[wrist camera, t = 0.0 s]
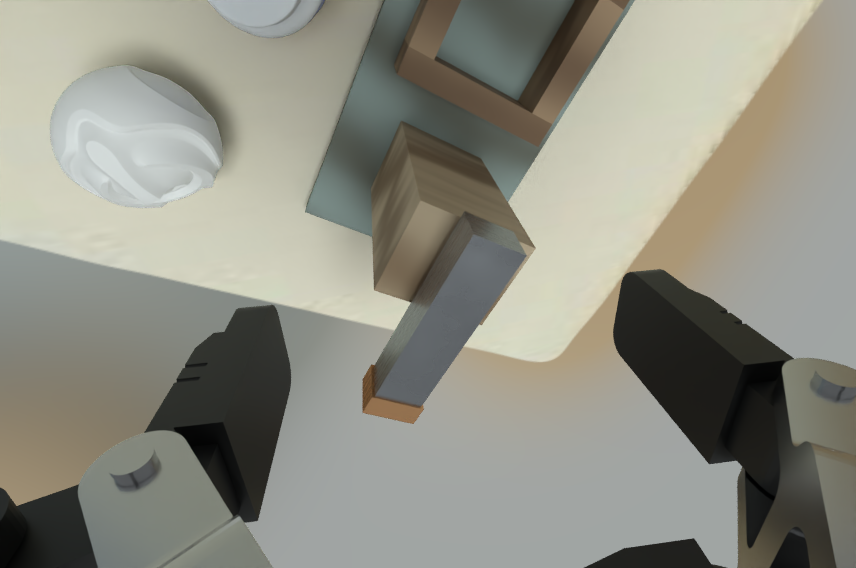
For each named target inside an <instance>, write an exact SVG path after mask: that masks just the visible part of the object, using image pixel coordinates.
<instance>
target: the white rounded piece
mask: <svg viewBox="0 0 856 568" xmlns="http://www.w3.org/2000/svg"><path fill="white" fill-rule="evenodd" d="M50 138H51V145H52V149H53V152H54V155H55V157H56V159H57V161H58V163H59V165H60V167H61V169H62V170H63V172H64V173H65V174H66V175H67V176H68V177H69V178H70V179H72V180H73V181H74V182H75V183H77V184H78V185H80V186H81V187H83V188H84V189H86V190H87V191H89V192H91V193H93V194H95V195H96V196H99V197H101V198H103V199H105V200H108V201H109V202H112V203H114V204H117V205H121V206H126V207H135V208H155V207H163V206H164V205H165V204H167V203H168V202H171V201H175V200H179V199H182V198H185V197H187V196H189V195H192V194H194V193H195V192H197V191H199V190H200V189H202V188H209V187H212V186H213V184H214V181H215V178H216V175H217V172H218V170H219V169H220V168H221V167H222V166H223V147H222V142H221V137H220V134H219V130H218V127H217V125H216V122H215V120H214V118H213V117H212V116H211V115H210V114H209V113H208V112H207V111H206V110H205V109H204V108H203V106H202V105H201V104H200V103H199V102H198V101H197V100H196V99H195V98H194V97H193V96H192V95H191V94H190V93H189V92H188V91H186V90H185V89H184V88H182V87H181V86H179V85H178V84H176V83H174V82H173V81H171V80H169V79H167V78H165V77H162V76H160V75H157V74H154V73H151V72H147V71H144V70H142V69H140V68H137V67H134V66H131V65H119V66H113V67H107V68H103V69H99V70H95V71H92V72H90V73H88V74H85V75H84V76H82V77H80V78H78V79H77V80H76V81H74V82H73V83H72V84H71V85H70V86H69V87H68V88H67V89H66V90H65V91H64V92H63V93H62V95H61V96H60V97H59V99H58V101H57V102H56V104H55V107H54V109H53V112H52V116H51V121H50Z"/></svg>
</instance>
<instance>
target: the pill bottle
mask: <svg viewBox="0 0 856 568" xmlns="http://www.w3.org/2000/svg"><path fill="white" fill-rule="evenodd" d="M325 1H326V0H208V2H209V3H210V4H211V5H212V6H213V7H214V9H215V10H216V11H217V12H218V13H219V14H220V15H221V16H222V17H223V18H224V19H226V20H227V21H228V22H229V23H231V24H232V25H234V26H235V27H237V28H239V29H241V30H243V31H245V32H247V33H250V34H252V35H255V36H259V37H265V38H279V37H284V36H288V35H291V34H293V33H295V32H297V31H299V30H300V29H302V28H303V27H304V26H305V25H307V24H308V23H309V22H310V21H311V19H312V18H313V17H314V16H315V14H316V13H317V12H318V11H319V10H320V9H321V7H322V6H323V4H324V2H325Z"/></svg>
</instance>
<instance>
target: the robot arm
mask: <svg viewBox="0 0 856 568" xmlns="http://www.w3.org/2000/svg"><path fill="white" fill-rule="evenodd" d="M613 337H614V343H615V346H616V349H617V351H618V353H619V355H620V356H621V357H622V358H623V359H624V361H625V362H626V363H627V364H628V366H629V367H630V368H631V369H632V371H633V372H634V373H635V374H636V375H637V377H638V378H639V379H640V380H641V381H642V383H643V384H644V385H645V386H646V388H647V389H648V390H649V391H650V392H651V394H652V395H653V396H654V397H655V399H656V400H657V401H658V402H659V404H660V405H661V406H662V407H663V408H664V409H665V411H666V412H667V413H668V414H669V416H670V417H671V418H672V419H673V421H674V422H675V423H676V424H677V425H678V426H679V428H680V429H681V430H682V432H683V433H684V434H685V435H686V436H687V438H688V439H689V440H690V441H691V443H692V444H693V445H694V446H695V447H696V448H697V450H698V451H699V452H700V453H701V455H702V456H703V457H704V458H705V460H706V461H707V462H708V463H709V464H714V463H722V462H729V461H738V462H739V463H740V464H741V466H742V469H741V472H740V474H739V476H738V481H737V482H738V483H737V484H738V485H737V494H738V567H737V568H856V370H855V369H853V368H850V367H848V366H845V365H841V364H838V363H835V362H831V361H827V360H822V359H814V358H797V359H794V358H792V357H791V356H790V355H788V354H787V353H786V352H784V351H783V350H781V349H780V348H779V347H777V346H776V345H775V344H773V343H772V342H770V341H769V340H768V339H766V338H765V337H763V336H762V335H761V334H759V333H758V332H757V331H755V330H754V329H752V328H751V327H750V326H748V325H747V324H742V321H741V320H740V319H739V318H737V317H736V316H734V315H733V314H732V313H728V312H727V310H726V309H725V308H723V307H722V306H721V305H719V304H718V303H716V302H715V301H714V300H712V299H711V298H709V297H707V296H704V295H702V294H700V293H698V292H695V291H693V290H691V289H689V288H687V287H686V286H685V285H683V284H682V283H680V282H679V281H678V280H677V279H675V278H674V277H672V276H671V275H670V274H668V273H667V272H666V271H664V270H661V269H658V270H647V271H636V272H629V273H627V274H626V275H625V276H624V277H623V280H622V283H621V289H620V294H619V301H618V306H617V312H616V317H615V323H614V329H613ZM290 386H291V369H290V363H289V358H288V354H287V349H286V345H285V341H284V337H283V333H282V328H281V324H280V320H279V316H278V312H277V310H276V308H275V306H273V305H267V306H256V307H246V308H238V309H237V310H236V311H235V313H234V315H233V317H232V319H231V321H230V322H229V324H228V326H227V328H226V330H225V332H219V333H213V334H212V335H211V336H210V337H208V338H207V339H206V340H205V341H204V342H202V343H201V344H200V345H199V346H197V347H196V348H195V349H194V351H193V353H192V354H191V356H190V358H189V359H188V361H187V363H186V364H185V368H183V369H182V371H181V373H180V374H179V376H178V378H177V383H174V384H173V386H172V388H171V389H170V391H169V393H168V394H167V396H166V398H165V399H164V401H163V403H162V404H161V406H160V408H159V409H158V411H157V412H156V414H155V416H154V417H153V419H152V421H151V422H150V424H149V426H148V428H147V429H146V431H145V432H144V433H143V434H140V435H137V436H134V437H131V438H129V439H127V440H125V441H123V442H121V443H119V444H117V445H116V446H114V447H112V448H111V449H109V450H108V451H106V452H105V453H104V454H102V455H101V456H100V457H99V458H98V459H97V460H96V461H95V462H94V463H93V464H92V465H91V466H90V467H89V468H88V469H87V471H86V472H85V474H84V475H83V477H82V479H81V481H80V483H79V485H76V486H73V487H71V488H68V489H65V490H62V491H59V492H56V493H53V494H50V495H48V496H45V497H42V498H39V499H36V500H33V501H30V502H27V503H24V504H21V505H19V506H16V505H15V503H14V502H13V501H12V499H11V498H10V496H9V495H8V494H7V492H6V491H5V490H4V489H2V488H0V568H273V567H272V565H271V564H270V562H269V561H268V559H267V557H266V556H265V554H264V553H263V551H262V550H261V548H260V546H259V545H258V543H257V542H256V540H255V539H254V537H253V535H252V534H251V532H250V531H249V529H248V527H247V526H246V525H245V522H253V521H258V518H259V514H260V510H261V506H262V502H263V498H264V493H265V489H266V485H267V481H268V477H269V473H270V468H271V465H272V461H273V457H274V453H275V449H276V444H277V440H278V436H279V432H280V428H281V424H282V420H283V416H284V412H285V408H286V404H287V400H288V396H289V392H290ZM585 568H726V567H722V566H718V565H712V564H711V563H710V562H709V560H708V559H707V557H706V556H705V554H704V553H703V551H702V550H701V548H700V547H699V545H698V544H697V542H696V541H695V539H687V540H680V541H673V542H666V543H659V544H652V545H645V546H638V547H631V548H624V549H622V550H620V551H618V552H616V553H614V554H612V555H609V556H607V557H605V558H603V559H601V560H599V561H597V562H595V563H593V564H591V565H589V566H587V567H585Z"/></svg>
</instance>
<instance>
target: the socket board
mask: <svg viewBox="0 0 856 568" xmlns="http://www.w3.org/2000/svg"><path fill="white" fill-rule="evenodd" d="M634 1H635V0H384V2H383V5H382V7H381V10H380V12H379V15H378V18H377V20H376V23H375V26H374V28H373V31H372V34H371V36H370V39H369V42H368V44H367V47H366V50H365V52H364V55H363V58H362V60H361V63H360V66H359V68H358V71H357V74H356V76H355V79H354V81H353V84H352V87H351V89H350V92H349V95H348V97H347V100H346V103H345V105H344V108H343V111H342V113H341V116H340V119H339V121H338V124H337V127H336V129H335V132H334V135H333V137H332V140H331V142H330V145H329V148H328V150H327V153H326V156H325V158H324V161H323V164H322V166H321V169H320V172H319V174H318V177H317V180H316V182H315V185H314V188H313V190H312V193H311V196H310V198H309V201H308V203H307V206H306V210H305V212H307V213H309V214H312V215H315V216H317V217H320V218H323V219H325V220H328V221H331V222H334V223H336V224H339V225H342V226H344V227H347V228H350V229H353V230H355V231H358V232H361V233H363V234H366V235H369V236H372V239H373V272H374V290H375V291H378V292H381V293H384V294H387V295H390V296H393V297H396V298H400V299H403V300H406V301H409V302H412V300H413V299H414V297H415V295H416V293H417V292H418V290H419V288H420V287H421V285H422V283H423V281H424V280H425V278H426V276H427V274H428V273H429V271H430V269H431V268H432V266H433V264H434V262H435V261H436V259H437V257H438V256H439V254H440V252H441V250H442V249H443V247H444V245H445V243H446V242H447V240H448V238H449V237H450V235H451V233H452V231H453V230H454V228H455V226H456V225H457V223H458V221H459V219H460V218H461V216H462V214H463V213H464V211H466V212H468V213H470V214H473V215H475V216H477V217H480V218H482V219H484V220H487V221H489V222H492V223H494V224H496V225H499V226H501V227H503V228H506V229H508V230H510V231H513V232H514V234H515V235H516V237H517V239H518V241H519V242H520V244H521V246H522V248H523V250H524V251H525V253H526V255H527V256H526V258H525V259H524V261H523V262H522V264H521V265H520V266H519V268H518V269H517V271H516V272H515V274H514V275H513V276H512V278H511V279H510V281H509V282H508V284H507V285H506V286H505V288H504V289H503V291H502V292H501V294H500V295H499V296H498V298H497V299H496V301H495V302H494V304H493V305H492V306H491V308H490V309H489V311H488V312H487V314H486V315H485V316H484V318H483V319H482V321H481V322H480V325H482V324H483V322H484V321H485V320H486V318H487V317H488V315H489V314H490V312H491V311H492V310H493V308H494V307H495V305H496V304H497V303H498V301H499V300H500V298H501V297H502V295H503V294H504V293H505V291H506V290H507V288H508V287H509V286H510V284H511V283H512V281H513V280H514V278H515V277H516V276H517V274H518V273H519V271H520V270H521V268H522V267H523V266H524V264H525V263H526V261H527V260H528V259H529V257H530V256H531V254H532V253H533V251H534V250H535V249H536V248H535V246H534V245H533V243H532V241H531V240H530V238H529V237H528V235H527V233H526V232H525V230H524V228H523V227H522V225H521V223H520V222H519V220H518V218H517V217H516V215H515V214H514V212H513V210H512V209H511V207H510V205H509V204H508V201H509V199H510V198H511V196H512V195H513V193H514V192H515V190H516V188H517V187H518V185H519V184H520V182H521V180H522V179H523V177H524V176H525V174H526V172H527V171H528V169H529V168H530V166H531V165H532V163H533V161H534V160H535V158H536V157H537V155H538V153H539V152H540V150H541V149H542V147H543V145H544V144H545V142H546V141H547V139H548V138H549V136H550V134H551V133H552V131H553V130H554V128H555V126H556V125H557V123H558V122H559V120H560V118H561V117H562V115H563V114H564V112H565V110H566V109H567V107H568V106H569V104H570V103H571V101H572V99H573V98H574V96H575V95H576V93H577V91H578V90H579V88H580V87H581V85H582V83H583V82H584V80H585V79H586V77H587V76H588V74H589V72H590V71H591V69H592V68H593V66H594V64H595V63H596V61H597V60H598V58H599V56H600V55H601V53H602V52H603V50H604V49H605V47H606V45H607V44H608V42H609V41H610V39H611V37H612V36H613V34H614V33H615V31H616V29H617V28H618V26H619V25H620V23H621V22H622V20H623V18H624V17H625V15H626V14H627V12H628V10H629V9H630V7H631V6H632V4H633V2H634Z"/></svg>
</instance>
